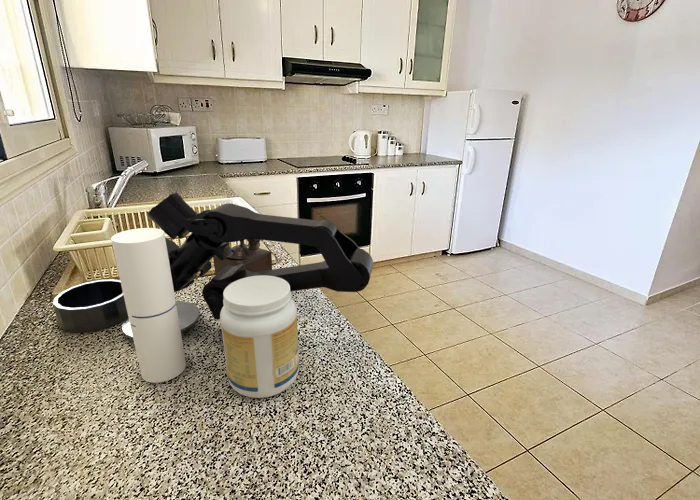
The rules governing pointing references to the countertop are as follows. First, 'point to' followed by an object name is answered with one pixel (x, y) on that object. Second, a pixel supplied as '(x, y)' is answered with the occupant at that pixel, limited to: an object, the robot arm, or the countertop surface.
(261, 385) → the supplement tub
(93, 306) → the pan
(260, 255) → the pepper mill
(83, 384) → the countertop surface
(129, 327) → the pan lid
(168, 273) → the cylindrical container
